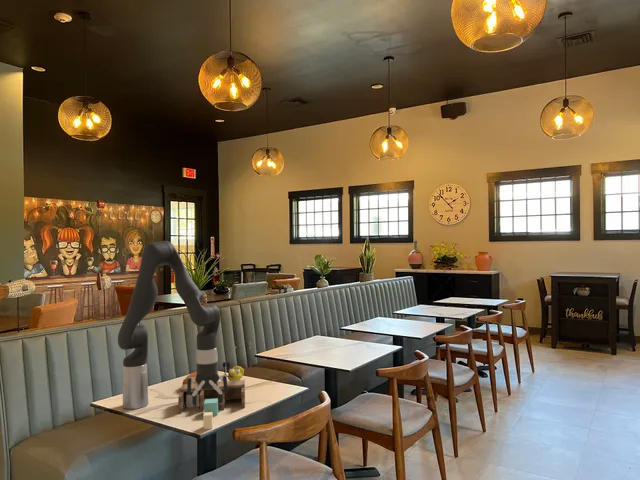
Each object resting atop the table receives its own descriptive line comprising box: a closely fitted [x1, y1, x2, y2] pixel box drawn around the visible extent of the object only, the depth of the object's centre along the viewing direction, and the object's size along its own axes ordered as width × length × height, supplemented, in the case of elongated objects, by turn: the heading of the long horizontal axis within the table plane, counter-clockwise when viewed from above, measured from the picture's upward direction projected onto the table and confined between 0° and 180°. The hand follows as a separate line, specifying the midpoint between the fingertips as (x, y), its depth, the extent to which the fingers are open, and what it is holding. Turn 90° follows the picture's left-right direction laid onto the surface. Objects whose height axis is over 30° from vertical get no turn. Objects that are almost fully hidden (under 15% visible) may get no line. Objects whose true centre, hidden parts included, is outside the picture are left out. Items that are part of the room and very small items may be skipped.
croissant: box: [182, 371, 197, 385], centre depth 217 cm, size 14×16×8 cm
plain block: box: [186, 391, 200, 408], centre depth 194 cm, size 5×5×5 cm
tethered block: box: [203, 398, 219, 430], centre depth 177 cm, size 5×18×5 cm, turn 9°
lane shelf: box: [177, 379, 246, 414], centre depth 193 cm, size 26×13×8 cm, turn 99°
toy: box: [222, 361, 245, 381], centre depth 211 cm, size 6×14×15 cm
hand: (207, 404), depth 170 cm, fingers open, 8 cm apart
